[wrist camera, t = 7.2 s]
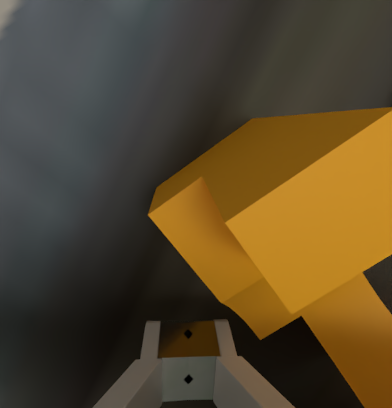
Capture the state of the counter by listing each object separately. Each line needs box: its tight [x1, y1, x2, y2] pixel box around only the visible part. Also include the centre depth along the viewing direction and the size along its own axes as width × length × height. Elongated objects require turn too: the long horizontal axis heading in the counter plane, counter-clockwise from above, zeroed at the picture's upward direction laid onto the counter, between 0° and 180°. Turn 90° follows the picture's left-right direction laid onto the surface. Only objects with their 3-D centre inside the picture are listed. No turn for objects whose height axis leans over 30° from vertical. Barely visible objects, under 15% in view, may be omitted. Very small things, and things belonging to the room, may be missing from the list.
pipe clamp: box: [148, 107, 392, 408], centre depth 8 cm, size 12×4×6 cm, turn 35°
